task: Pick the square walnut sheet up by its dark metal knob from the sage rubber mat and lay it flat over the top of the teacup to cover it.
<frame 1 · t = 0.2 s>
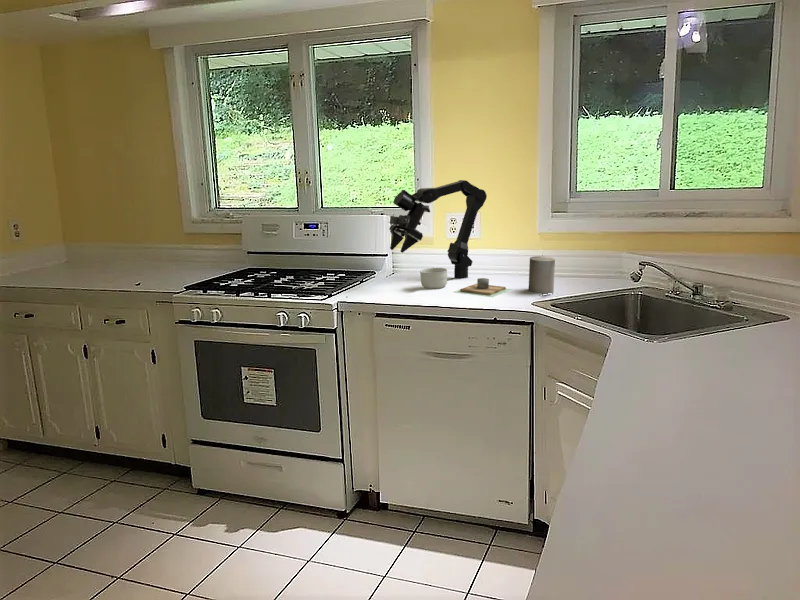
hand: (396, 250, 278), 15 cm above the counter, tool tilted 30°, fingers open, 9 cm apart
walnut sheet: (482, 290, 267), point 1 cm above the counter, touching sage mat
teacup: (434, 288, 278), on the counter
sage mat: (482, 293, 268), on the counter
pillar candle: (541, 293, 267), on the counter
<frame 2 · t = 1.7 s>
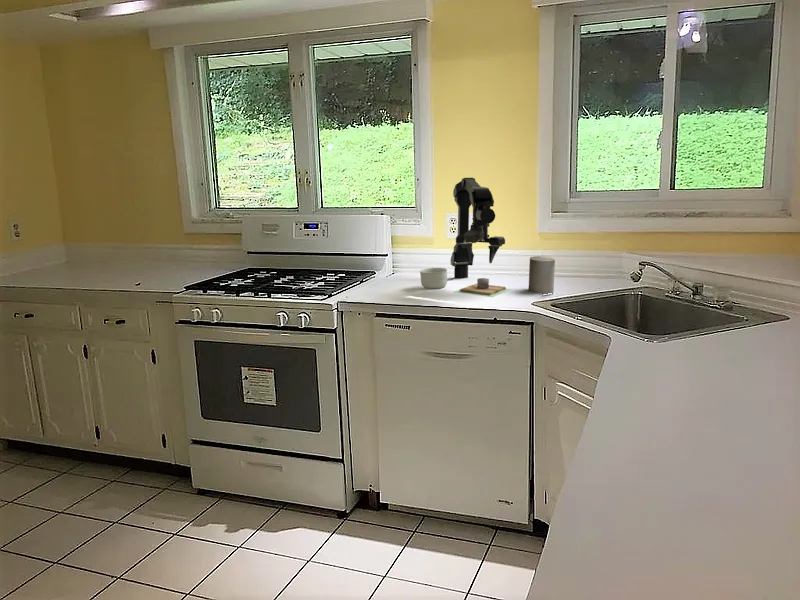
hand: (479, 262, 265), 12 cm above the counter, tool pointing down, fingers open, 9 cm apart
nothing on the counter moved.
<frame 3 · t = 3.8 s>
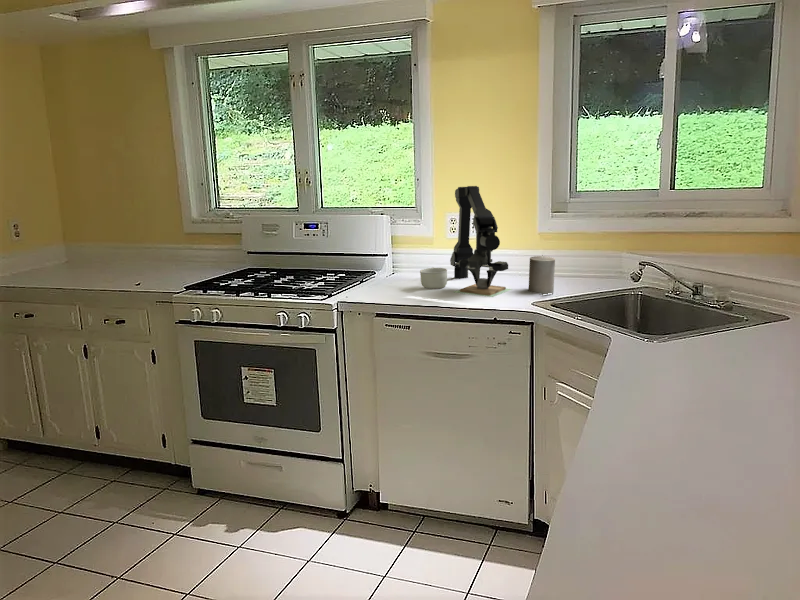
hand: (482, 286, 267), 3 cm above the counter, tool pointing down, fingers closed on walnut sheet, 4 cm apart
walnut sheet: (482, 290, 267), point 1 cm above the counter, touching gripper, sage mat
everything else where it was.
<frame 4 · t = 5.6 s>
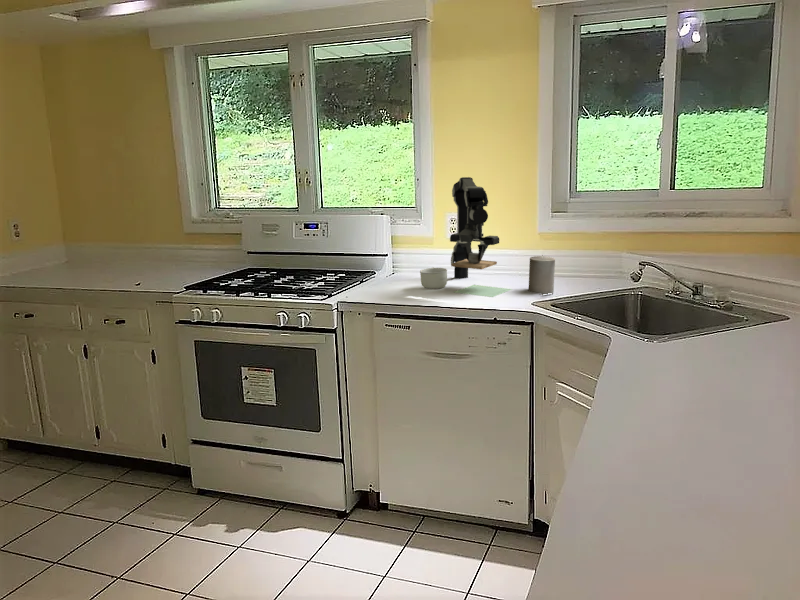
hand: (474, 261, 267), 12 cm above the counter, tool pointing down, fingers closed on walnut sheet, 4 cm apart
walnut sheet: (474, 265, 267), point 11 cm above the counter, touching gripper
everything else where it was.
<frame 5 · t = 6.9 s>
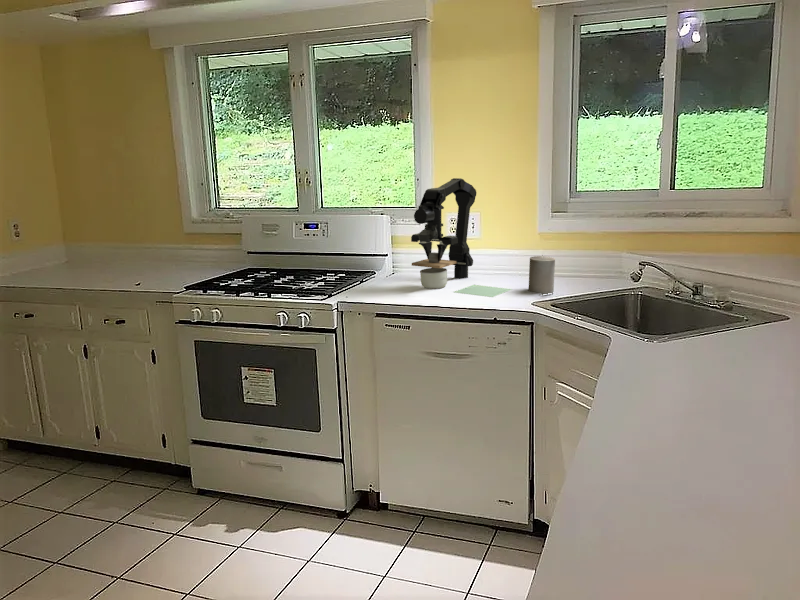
hand: (434, 260, 275), 11 cm above the counter, tool pointing down, fingers closed on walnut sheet, 4 cm apart
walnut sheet: (434, 264, 276), point 10 cm above the counter, touching gripper
everything else where it was.
when the fingers open (11 cm above the counter, at t = 7.6 s): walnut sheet drops 2 cm, resting on teacup.
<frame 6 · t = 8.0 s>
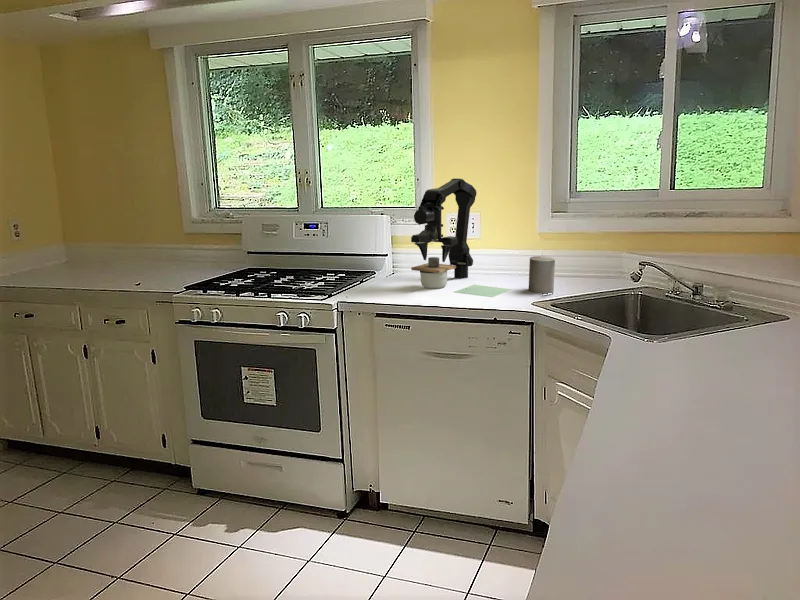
hand: (434, 261, 275), 11 cm above the counter, tool pointing down, fingers open, 8 cm apart
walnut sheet: (433, 269, 276), point 8 cm above the counter, touching teacup
teacup: (434, 288, 278), on the counter, touching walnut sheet
everything else where it was.
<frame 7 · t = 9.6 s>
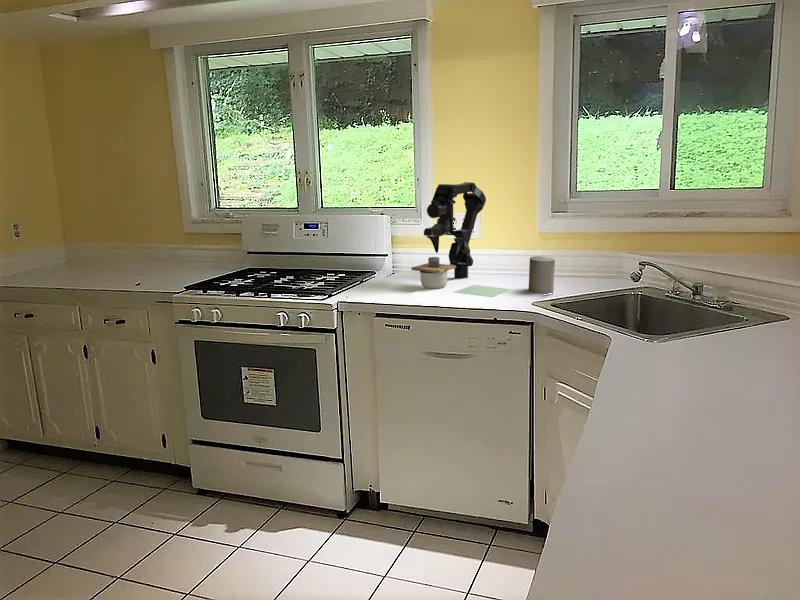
hand: (446, 253, 283), 13 cm above the counter, tool pointing down, fingers open, 9 cm apart
nothing on the counter moved.
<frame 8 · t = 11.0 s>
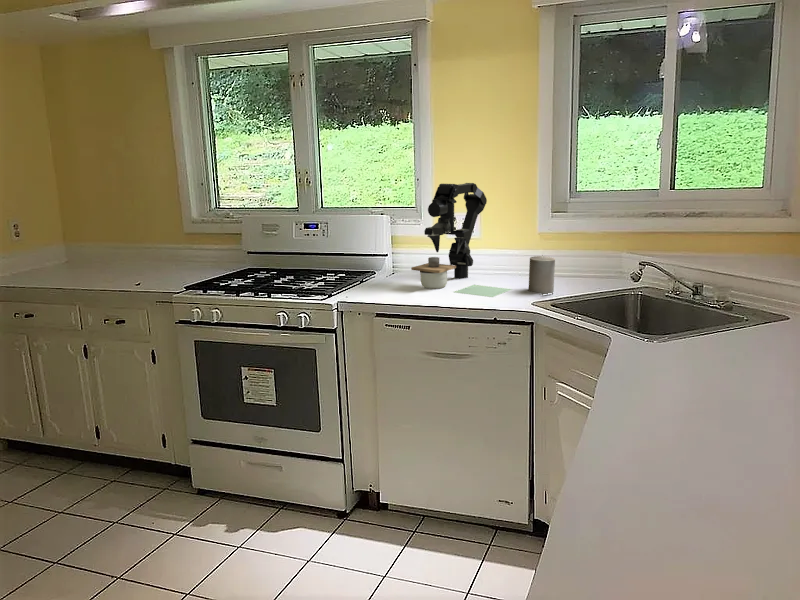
hand: (447, 253, 283), 13 cm above the counter, tool pointing down, fingers open, 9 cm apart
nothing on the counter moved.
at the end: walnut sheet 0.2 cm off-centre on the teacup, point 8.2 cm above the teacup's base; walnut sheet touching teacup; teacup tilted 0° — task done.
